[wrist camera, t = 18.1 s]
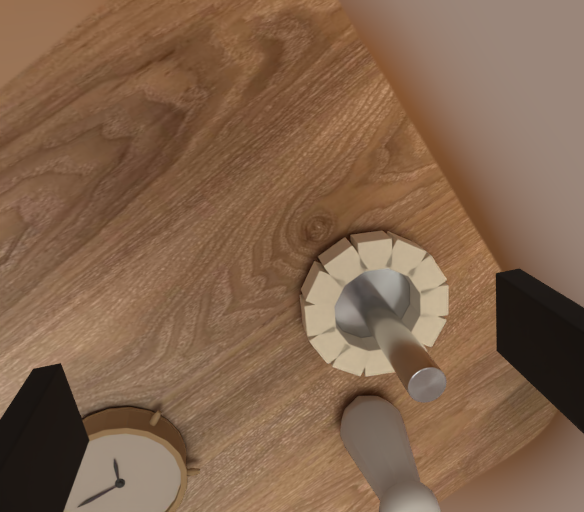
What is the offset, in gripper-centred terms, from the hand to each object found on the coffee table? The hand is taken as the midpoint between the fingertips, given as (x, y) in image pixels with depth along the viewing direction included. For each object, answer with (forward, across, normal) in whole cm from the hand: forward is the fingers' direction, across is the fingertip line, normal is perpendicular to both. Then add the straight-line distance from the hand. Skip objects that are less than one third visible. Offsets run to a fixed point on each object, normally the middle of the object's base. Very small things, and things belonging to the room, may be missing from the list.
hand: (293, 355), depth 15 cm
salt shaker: (+25, +7, -23) cm, 34 cm away
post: (+25, +8, -11) cm, 28 cm away
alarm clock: (+25, -17, -22) cm, 37 cm away
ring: (+24, +8, -11) cm, 27 cm away
